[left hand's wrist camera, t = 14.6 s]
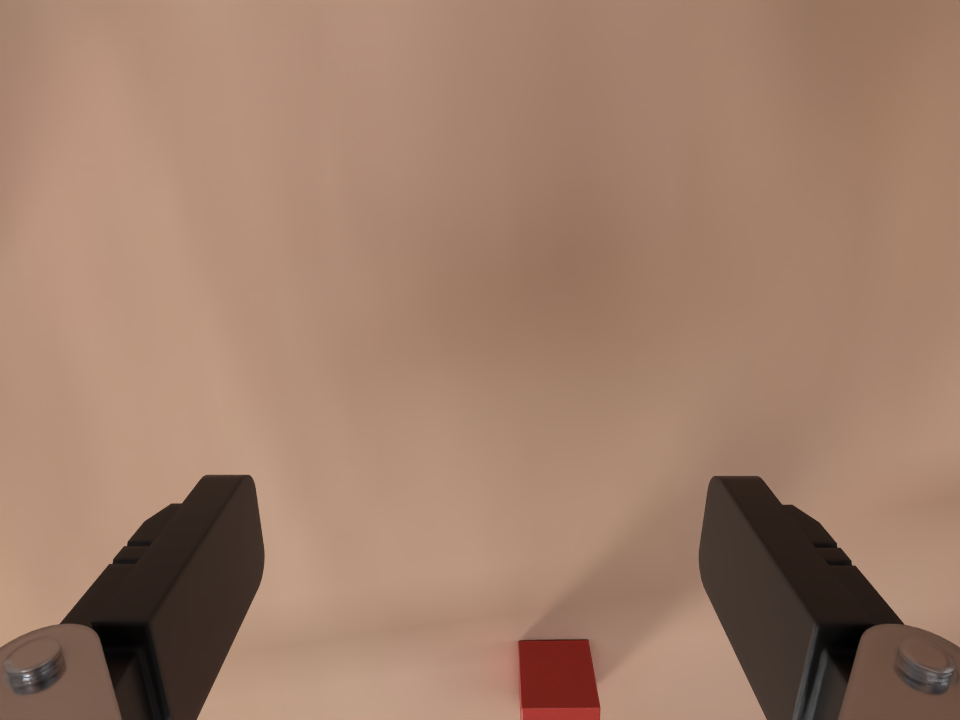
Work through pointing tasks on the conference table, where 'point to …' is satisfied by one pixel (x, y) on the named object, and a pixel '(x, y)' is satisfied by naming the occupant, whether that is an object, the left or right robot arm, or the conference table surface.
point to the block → (557, 681)
